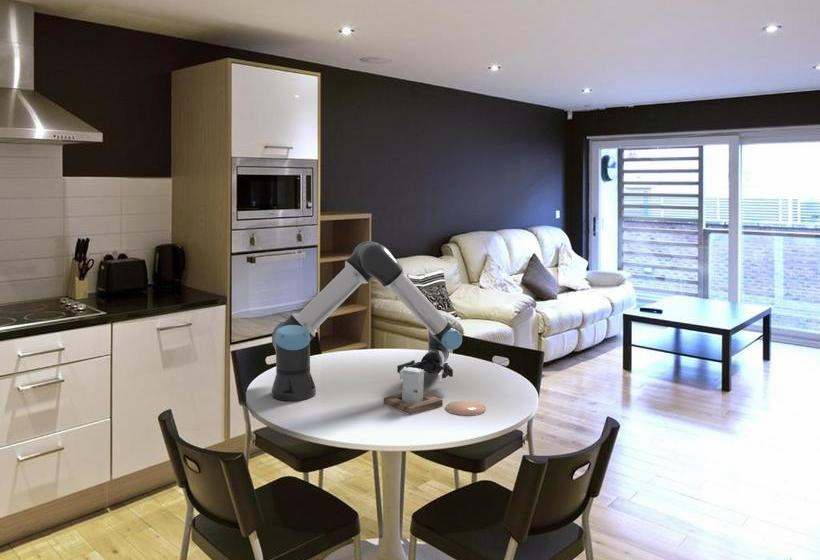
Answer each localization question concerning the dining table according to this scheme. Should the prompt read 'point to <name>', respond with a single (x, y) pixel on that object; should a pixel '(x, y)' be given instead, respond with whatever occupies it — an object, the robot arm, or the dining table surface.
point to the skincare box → (413, 385)
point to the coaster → (465, 407)
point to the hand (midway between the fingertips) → (419, 377)
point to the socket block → (426, 404)
